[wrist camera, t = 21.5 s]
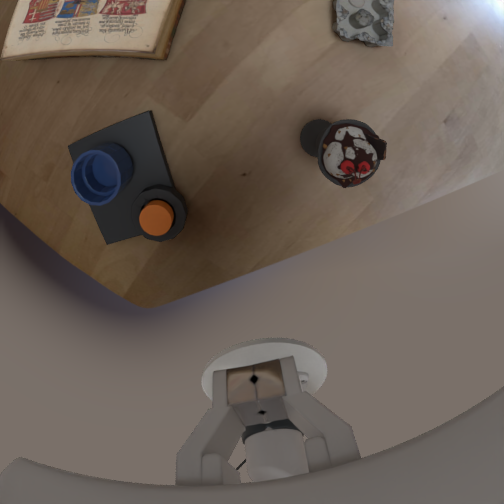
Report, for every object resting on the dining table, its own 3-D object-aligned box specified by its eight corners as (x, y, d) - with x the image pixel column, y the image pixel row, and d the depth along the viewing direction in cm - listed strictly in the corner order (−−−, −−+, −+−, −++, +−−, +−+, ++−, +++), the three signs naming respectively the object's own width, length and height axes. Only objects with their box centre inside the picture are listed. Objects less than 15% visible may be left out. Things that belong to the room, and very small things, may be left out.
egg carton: (330, -27, 22) (342, -38, 18) (382, -10, 22) (397, -18, 19) (327, 38, 27) (338, 31, 23) (380, 53, 28) (396, 50, 24)
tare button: (178, 225, 35) (176, 231, 34) (149, 233, 35) (146, 239, 34) (167, 195, 33) (165, 200, 32) (138, 204, 33) (134, 210, 32)
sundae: (287, 157, 35) (326, 197, 22) (300, 106, 31) (349, 114, 18) (335, 169, 36) (393, 213, 23) (348, 121, 33) (417, 141, 20)
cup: (140, 182, 33) (128, 195, 29) (98, 197, 33) (83, 212, 29) (124, 135, 30) (109, 141, 26) (82, 153, 30) (63, 162, 26)
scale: (194, 223, 38) (192, 233, 35) (112, 246, 38) (105, 257, 36) (158, 107, 30) (152, 108, 27) (71, 144, 30) (60, 148, 28)
